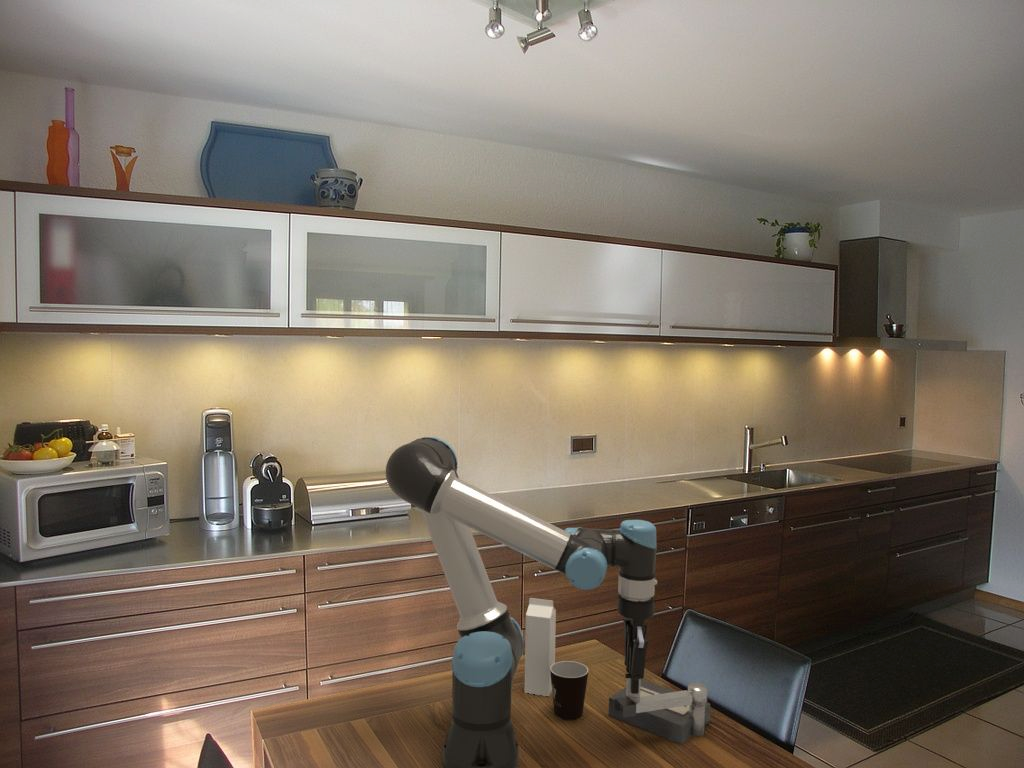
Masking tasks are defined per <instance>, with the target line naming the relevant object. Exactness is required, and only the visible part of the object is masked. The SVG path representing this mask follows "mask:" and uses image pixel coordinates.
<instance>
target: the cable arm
mask: <svg viewBox="0 0 1024 768" xmlns="http://www.w3.org/2000/svg"><path fill="white" fill-rule="evenodd" d="M706 703H708V687H707V685H705V684H704V683H700V682H690V683H689V684H687V690H677V691H676V692H671V693H664V694H657V695H650V696H644V697H637V698H629V697H628V696H627V697H620V698H615V710H616V711H617V712H618V713H619V714H620V715H621V717H622V718H626V717H632V716H636V713H641V712H648V711H654V710H661V709H667V708H673V707H680V706H686V705H692V704H694V705H705V704H706Z"/></svg>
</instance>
